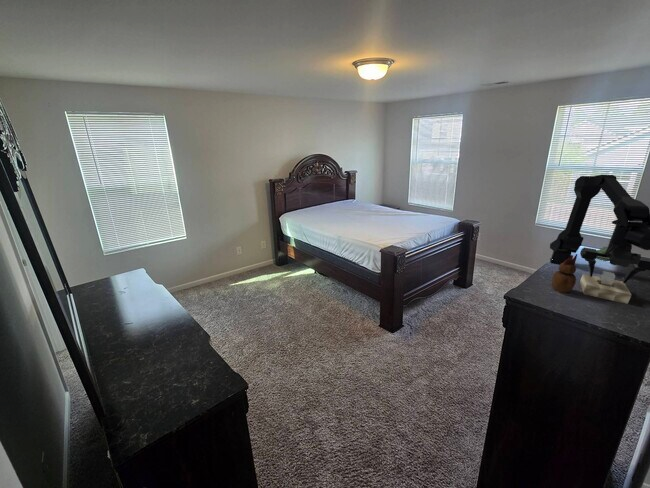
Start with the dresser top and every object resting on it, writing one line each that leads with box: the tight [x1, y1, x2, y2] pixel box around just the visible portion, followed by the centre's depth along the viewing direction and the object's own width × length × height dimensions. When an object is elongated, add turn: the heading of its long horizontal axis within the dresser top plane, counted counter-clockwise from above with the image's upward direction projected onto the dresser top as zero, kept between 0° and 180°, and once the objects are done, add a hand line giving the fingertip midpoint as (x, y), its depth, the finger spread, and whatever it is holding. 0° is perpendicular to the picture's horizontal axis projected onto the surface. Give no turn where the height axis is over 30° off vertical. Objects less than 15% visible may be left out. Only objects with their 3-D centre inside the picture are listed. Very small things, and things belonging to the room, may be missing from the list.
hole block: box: [579, 273, 632, 305], centre depth 112 cm, size 12×12×4 cm
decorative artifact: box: [595, 246, 610, 262], centre depth 144 cm, size 10×7×10 cm
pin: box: [599, 270, 616, 287], centre depth 111 cm, size 3×3×8 cm
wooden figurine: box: [551, 253, 578, 294], centre depth 111 cm, size 7×6×15 cm
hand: (606, 279), depth 111 cm, fingers open, 9 cm apart
